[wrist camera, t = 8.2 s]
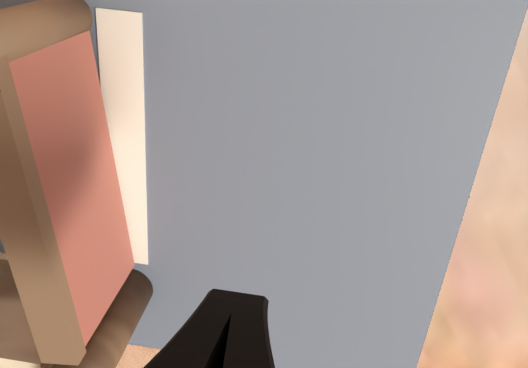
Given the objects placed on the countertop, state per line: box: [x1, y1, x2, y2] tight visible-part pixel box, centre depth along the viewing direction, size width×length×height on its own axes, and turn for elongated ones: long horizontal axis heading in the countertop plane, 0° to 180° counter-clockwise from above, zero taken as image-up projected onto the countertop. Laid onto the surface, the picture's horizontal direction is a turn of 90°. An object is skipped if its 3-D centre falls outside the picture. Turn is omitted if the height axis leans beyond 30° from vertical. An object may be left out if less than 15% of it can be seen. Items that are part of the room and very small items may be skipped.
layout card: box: [0, 0, 528, 368], centre depth 20 cm, size 17×24×1 cm
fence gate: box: [0, 0, 135, 366], centre depth 17 cm, size 11×1×6 cm, turn 3°
